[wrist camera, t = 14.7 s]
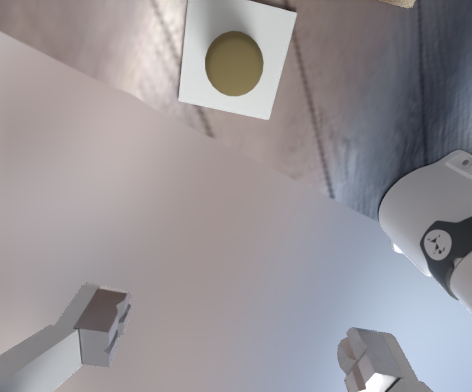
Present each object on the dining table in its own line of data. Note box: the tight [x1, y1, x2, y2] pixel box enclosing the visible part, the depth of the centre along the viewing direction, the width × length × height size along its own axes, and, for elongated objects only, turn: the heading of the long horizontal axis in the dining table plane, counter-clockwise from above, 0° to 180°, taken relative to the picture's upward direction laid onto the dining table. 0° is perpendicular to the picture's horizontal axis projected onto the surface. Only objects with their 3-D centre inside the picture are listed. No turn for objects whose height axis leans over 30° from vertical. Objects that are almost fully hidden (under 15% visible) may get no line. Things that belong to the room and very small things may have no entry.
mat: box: [178, 0, 297, 120], centre depth 32 cm, size 12×12×1 cm
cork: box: [205, 31, 264, 97], centre depth 27 cm, size 6×6×11 cm
